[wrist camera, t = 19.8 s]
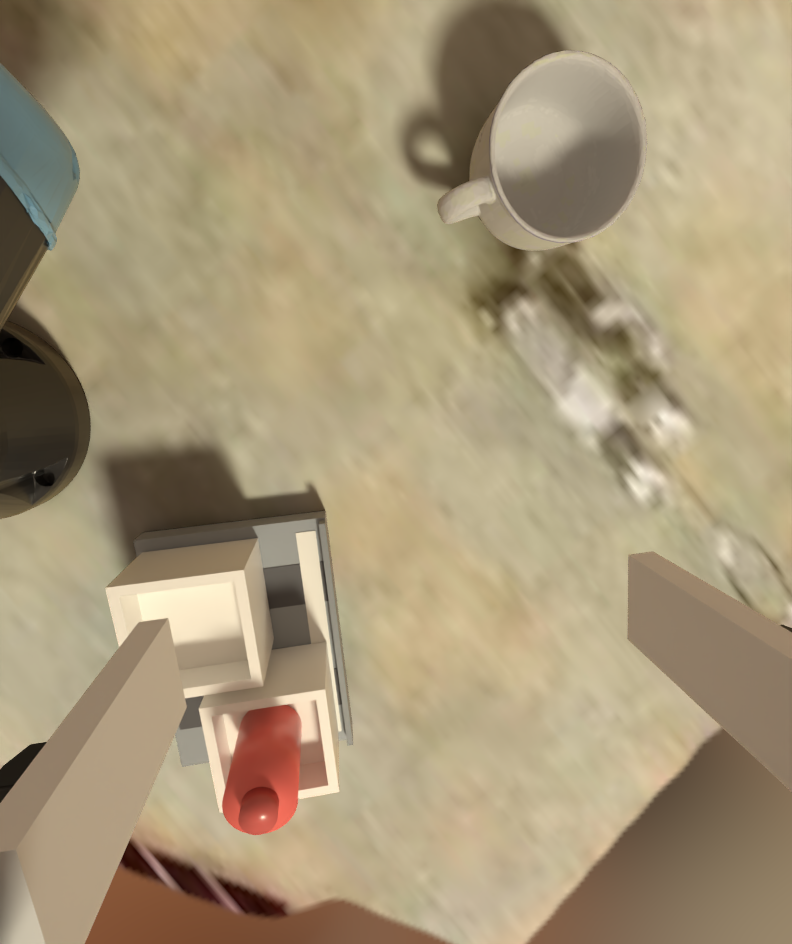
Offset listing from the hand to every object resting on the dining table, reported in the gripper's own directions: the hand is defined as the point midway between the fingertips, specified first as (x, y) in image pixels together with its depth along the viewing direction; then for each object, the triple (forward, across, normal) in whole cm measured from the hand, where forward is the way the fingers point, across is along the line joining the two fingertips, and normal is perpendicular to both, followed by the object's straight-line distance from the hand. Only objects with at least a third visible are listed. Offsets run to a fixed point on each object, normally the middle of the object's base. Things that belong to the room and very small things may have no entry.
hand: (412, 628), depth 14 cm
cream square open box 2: (+27, -9, -20) cm, 35 cm away
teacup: (+29, +14, +19) cm, 37 cm away
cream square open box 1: (+27, -13, -10) cm, 31 cm away
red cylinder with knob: (+22, -10, -20) cm, 32 cm away
